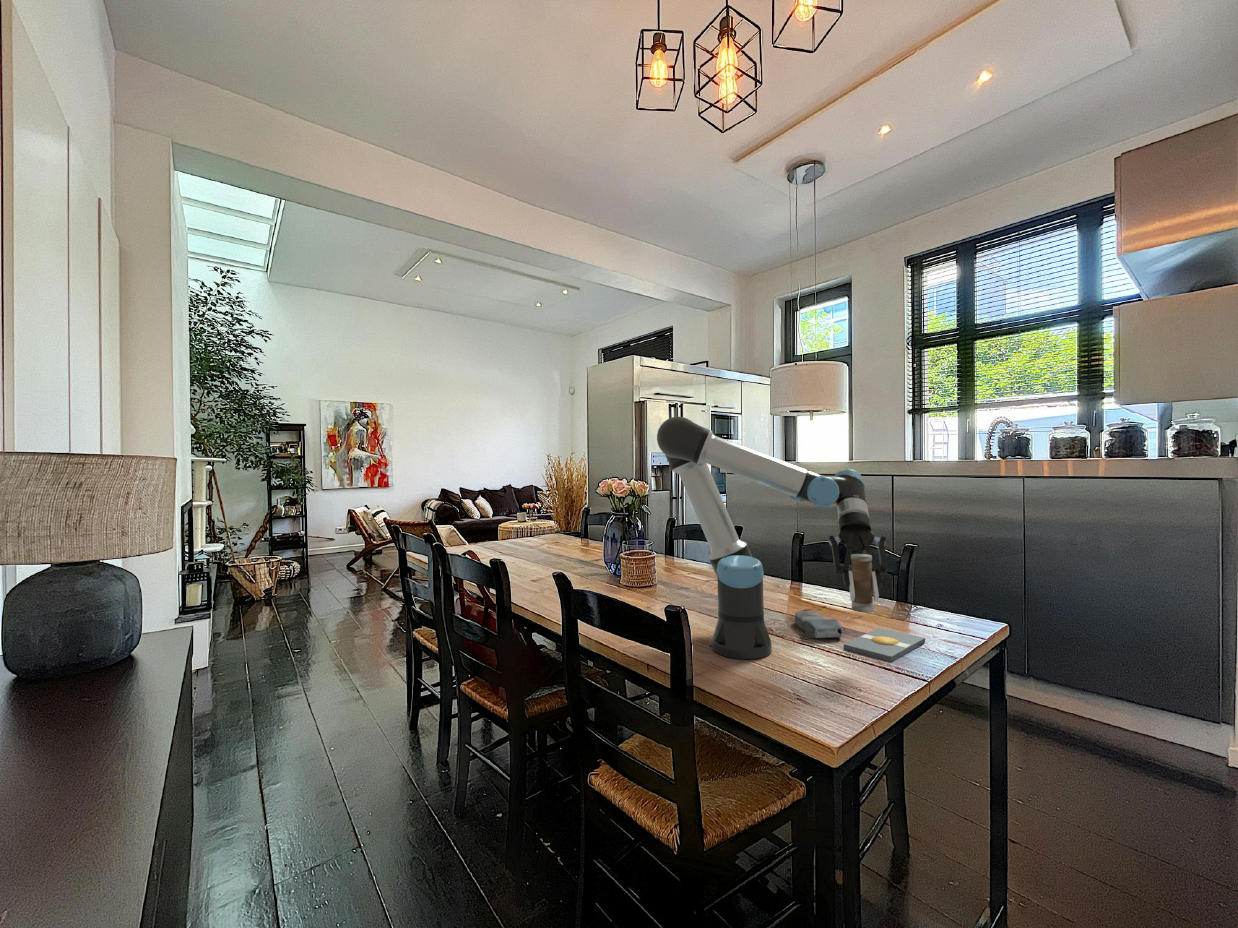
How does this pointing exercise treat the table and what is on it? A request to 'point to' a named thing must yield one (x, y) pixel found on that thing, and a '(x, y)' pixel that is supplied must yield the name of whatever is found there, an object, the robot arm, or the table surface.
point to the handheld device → (818, 625)
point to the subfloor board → (884, 644)
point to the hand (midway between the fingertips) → (864, 597)
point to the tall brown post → (862, 582)
